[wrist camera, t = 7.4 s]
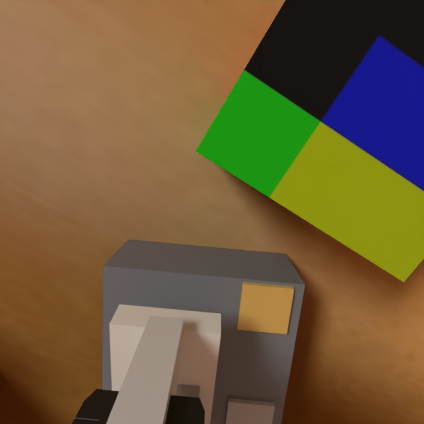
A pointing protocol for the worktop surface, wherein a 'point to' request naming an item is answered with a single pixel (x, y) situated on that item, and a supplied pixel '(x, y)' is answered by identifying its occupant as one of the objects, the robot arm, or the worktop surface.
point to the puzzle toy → (336, 124)
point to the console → (230, 316)
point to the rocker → (190, 353)
